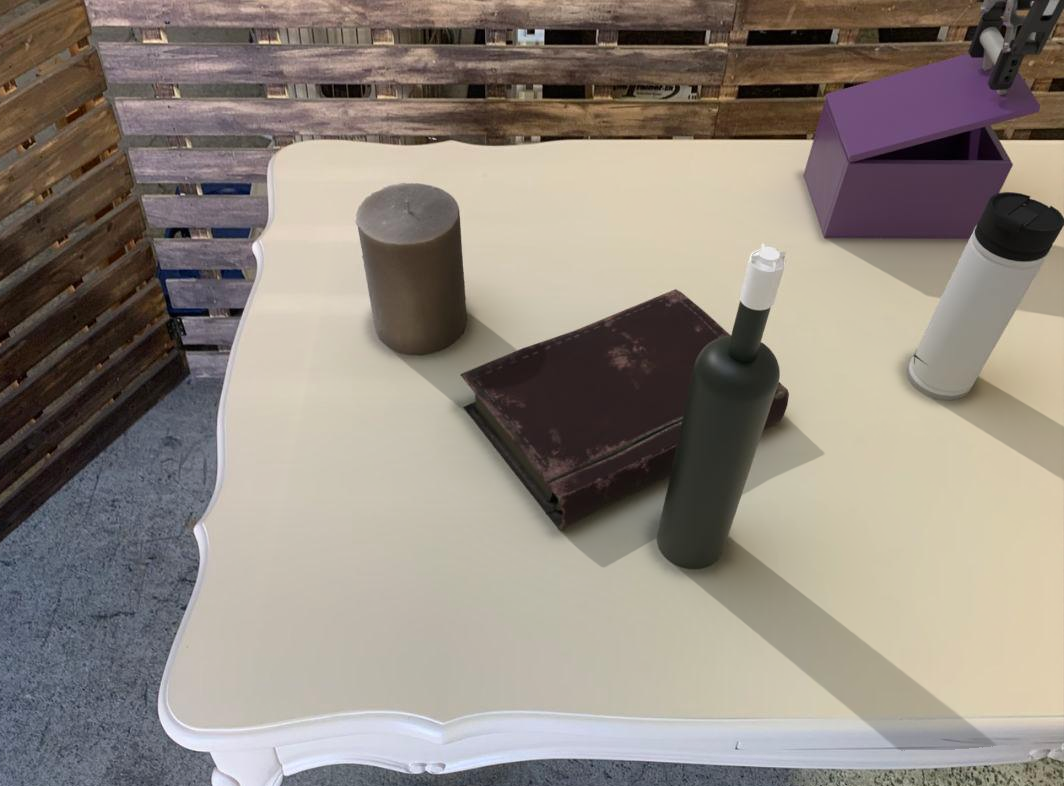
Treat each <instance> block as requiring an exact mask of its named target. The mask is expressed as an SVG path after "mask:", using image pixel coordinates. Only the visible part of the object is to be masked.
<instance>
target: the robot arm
mask: <svg viewBox="0 0 1064 786" xmlns="http://www.w3.org/2000/svg"><path fill="white" fill-rule="evenodd" d="M976 2H977V3H981V5H980V7H979V10H978V15H979V17H980V19H979V22H978V24H977V27H976V30H975V32H974V35H973V37H972V40H971V42H970V45H969V48H968V50H967V52H968V53H969V54H970V56H971V57H972V58H983V57H984V47H983V46H982V44H981V43H980V35H981V33H982V32H983V31H984V30H985V29H987V28H989V27H996V28H997V29H998V31H999V32H1000V33H1001V30H1002V28H1003V25H1004V26H1005V27H1006V29H1005V34H1004V37H1003V38H1004V43H1003V49H1001V51H1000V54H999V56H998V59H997V61H996V64H995V66H994V69H993V71H992V73H991V76H990V78H989V81H988V86H989V87H990V89H991V90H1007V89H1009V88H1010V87H1011V86H1012V84H1013V81H1014V79H1015V77H1016V74H1017V72H1019V69H1020V67H1021V65H1022V63H1023V60H1024V58H1025V56H1038V55H1040V54H1041V53H1042V51H1043V50H1044V48H1045V45H1046V44H1047V42H1048V40H1049V38H1050V36H1051V34H1052V32H1053V30H1054V28H1055V26H1056V25H1057V22H1058V21H1059V19H1060V17H1061V15H1062V13H1063V11H1064V0H976ZM1017 11H1028V13H1027V14H1026V15H1019V14H1017ZM1019 26H1020V29H1019V31H1018V27H1019ZM1017 31H1018V33H1017ZM1037 33H1038V34H1037ZM968 53H967V54H968Z"/></svg>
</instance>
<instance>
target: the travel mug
mask: <svg viewBox="0 0 1064 786" xmlns="http://www.w3.org/2000/svg"><path fill="white" fill-rule="evenodd" d="M1063 228H1064V216H1063V214H1062V213H1061V212H1060V210H1058V209H1057V208H1055V207H1054V206H1053V205H1050V206H1048V205H1047V204H1046V203H1045V204H1044V203H1043V202H1041V201H1038V200H1035V199H1032V198H1031V195H1029V194H1028V195H1027V194H1024V193H1021V192H1013V191H1012V192H1010V191H1003V192H999V193H998V194H995V195H993V196H992V197H991V198H990V199H989V201H988V203H987V205H986V207H985V209H984V211H983V214H982V216H981V218H980V220H979V222H978V224H977V225H976V226H975V229H974V231H973V233H972V235H971V237H970V239H968V242H967V243H966V245H965V246H964V247H965V248H964V249H963V252H962V253H961V255H960V257H959V260H958V262H957V263H956V266H955V268H954V270H953V272H952V274H951V277H950V278H949V281H948V282H947V285H946V287H945V288H944V291H943V293H942V295H941V297H940V299H939V301H938V302H937V305H936V308H935V309H934V312H933V313H932V315H931V318H930V320H929V322H928V324H927V326H926V328H925V330H924V332H923V334H922V336H921V339H920V341H919V343H918V345H917V346H916V349H915V351H914V352H913V355H912V357H911V360H909V363H908V366H907V367H906V377H907V380H908V381H909V383H910V385H911V386H912V387H913V388H914V389H915V390H917V391H918V392H919V393H921V394H922V395H924V396H926V397H930V398H932V399H935V400H939V401H956V400H959V399H962V398H964V397H965V396H967V395H968V394H969V392H970V391H971V389H972V388H973V385H974V384H975V382H976V380H977V379H978V377H979V375H980V374H981V372H982V370H983V368H984V367H985V365H986V363H987V361H988V360H989V358H990V357H991V354H992V353H993V351H994V350H995V348H996V346H997V344H998V343H999V341H1000V339H1001V337H1002V335H1003V334H1004V332H1005V330H1006V328H1007V327H1008V325H1009V324H1010V321H1011V320H1012V318H1013V317H1014V315H1015V313H1016V311H1017V309H1018V308H1019V306H1020V304H1021V303H1022V301H1023V299H1024V297H1025V295H1026V294H1027V292H1028V290H1029V289H1030V286H1032V283H1033V281H1034V280H1035V278H1036V276H1037V275H1038V273H1039V271H1040V269H1041V268H1042V265H1043V264H1044V262H1045V260H1046V258H1047V257H1048V255H1049V254H1050V251H1051V248H1053V244H1054V243H1055V242H1056V240H1057V239H1058V237H1059V235H1060V233H1061V231H1062V230H1063Z"/></svg>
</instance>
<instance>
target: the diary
mask: <svg viewBox="0 0 1064 786" xmlns="http://www.w3.org/2000/svg"><path fill="white" fill-rule="evenodd" d="M729 335H731V333H729V332H727V330H726V329H724V327H722V326H721V325H720V323H718V322H717V321H716V320H715V319H714V318H712V316H711V315H709V314H708V313H707V312H706V311H705V310H704V309H702V307H700V306H699V305H697V304H696V303H695V302H694V301H693V300H692V299H690V298H689V297H688V296H686V294H684V293H683V292H682V291H681V290H678V289H676V288H675V289H673V290H670V291H668V292H665V293H662V294H661V295H658V296H655V297H652V298H651V299H648V300H646V301H644V302H641V303H639V304H636V305H633V306H631V307H629V308H626V309H624V310H622V311H619V312H617V313H614V314H611V315H609V316H607V317H604V318H602V319H600V320H597V321H595V322H592V323H590V324H587V325H585V326H583V327H580V328H578V329H576V330H573V331H570V332H569V331H568V332H566V333H564V334H561V335H557V336H554V337H552V338H549V339H546V340H543V341H540V342H537V343H533V344H532V345H528V346H526V347H522V348H520V349H517V350H515V351H513V352H510V353H508V354H505V355H503V356H500V357H498V358H496V359H493V360H491V361H488V362H486V363H484V364H481V365H479V366H477V367H474V368H472V369H469V370H467V371H464V372H462V373H461V374H460V375H459V376H460V377H461V378H462V379H463V381H464V382H465V383H466V384H467V385H468V387H469V388H470V389H471V390H472V392H473V393H474V395H475V396H474V397H475V398H474V399H475V401H474V402H471V403H469V404H467V405H465V406H463V407H462V408H463V409H464V410H465V412H466V413H467V415H468V416H469V417H470V418H471V419H472V421H473V422H474V423H475V424H476V426H477V427H478V429H479V430H480V431H481V432H482V434H483V435H484V436H485V437H486V439H487V440H488V441H489V443H490V444H491V445H492V446H493V448H494V449H495V450H496V451H497V453H498V454H499V455H500V456H501V458H502V459H503V461H504V462H505V463H506V464H507V466H508V467H509V468H510V469H511V471H512V472H513V473H514V475H515V476H516V477H517V479H518V480H519V481H520V482H521V483H522V485H523V486H524V487H525V489H526V490H527V491H528V492H529V494H530V495H531V496H532V497H533V499H534V500H535V501H536V503H537V504H538V506H540V508H541V509H542V510H543V512H544V513H545V514H546V516H547V517H548V518H549V519H550V520H551V522H552V523H553V524H554V526H555V527H556V528H557V530H559V531H561V530H563V529H565V528H567V527H569V526H571V525H573V524H574V523H576V522H578V521H580V520H583V519H584V518H586V517H588V516H590V515H592V514H594V513H596V512H598V511H599V510H601V509H604V508H605V507H607V506H609V505H612V504H613V503H616V502H618V501H619V500H621V499H623V498H625V497H628V496H630V495H631V494H634V493H636V492H638V491H640V490H643V489H645V488H646V487H648V486H651V485H653V484H656V483H658V482H660V481H662V480H664V479H666V478H669V477H670V474H671V470H672V465H673V461H674V456H675V452H676V447H677V443H678V438H679V434H680V429H681V424H682V420H683V415H684V411H685V406H686V402H687V397H688V393H689V388H690V384H691V379H692V375H693V370H694V365H695V362H696V359H697V357H698V355H699V354H700V352H701V351H702V350H703V348H704V347H705V346H706V345H708V344H709V343H710V342H712V341H714V340H716V339H718V338H721V337H724V336H729ZM789 398H790V392H789V389H788V388H787V387H786V386H784V384H782V383H781V382H780V381H779V383H778V386H777V389H776V392H775V395H774V398H773V401H772V404H771V407H770V410H769V413H768V417H767V420H766V423H765V426H764V429H763V431H764V430H767V429H769V428H771V427H773V426H775V425H777V424H779V423H780V422H781V420H782V419H783V418H784V416H785V414H786V410H787V408H788V404H789Z"/></svg>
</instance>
